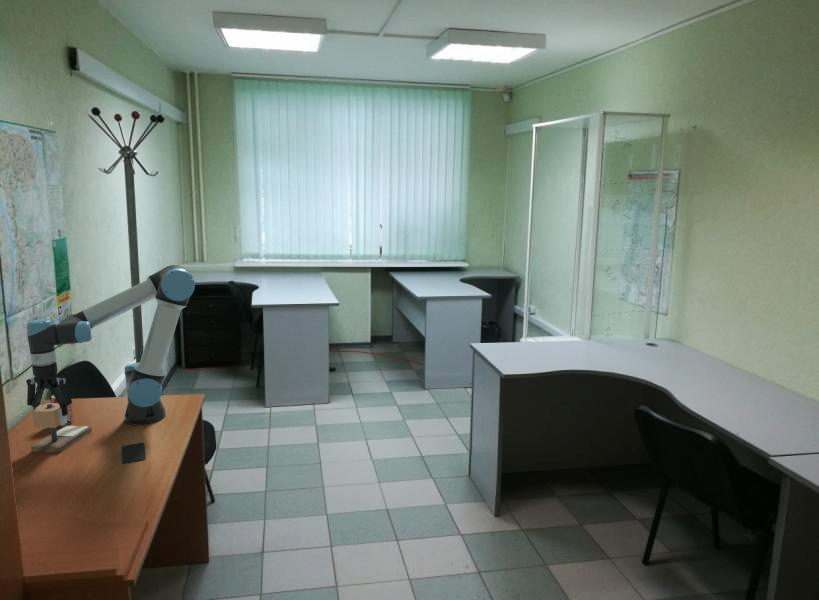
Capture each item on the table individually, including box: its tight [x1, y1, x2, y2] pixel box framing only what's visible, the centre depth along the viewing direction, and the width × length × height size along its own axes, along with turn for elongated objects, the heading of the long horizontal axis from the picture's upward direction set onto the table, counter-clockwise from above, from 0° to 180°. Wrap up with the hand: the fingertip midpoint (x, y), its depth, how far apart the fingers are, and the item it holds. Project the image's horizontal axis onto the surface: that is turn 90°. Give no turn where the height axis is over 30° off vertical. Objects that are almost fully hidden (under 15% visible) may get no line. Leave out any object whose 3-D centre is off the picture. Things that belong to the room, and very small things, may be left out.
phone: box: [121, 442, 147, 465], centre depth 209 cm, size 7×1×15 cm
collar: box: [31, 402, 70, 429], centre depth 214 cm, size 8×8×6 cm
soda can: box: [49, 394, 74, 427], centre depth 235 cm, size 7×7×12 cm
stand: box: [30, 404, 93, 454], centre depth 218 cm, size 11×18×16 cm, turn 175°
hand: (52, 423), depth 214 cm, fingers closed on collar, 8 cm apart
